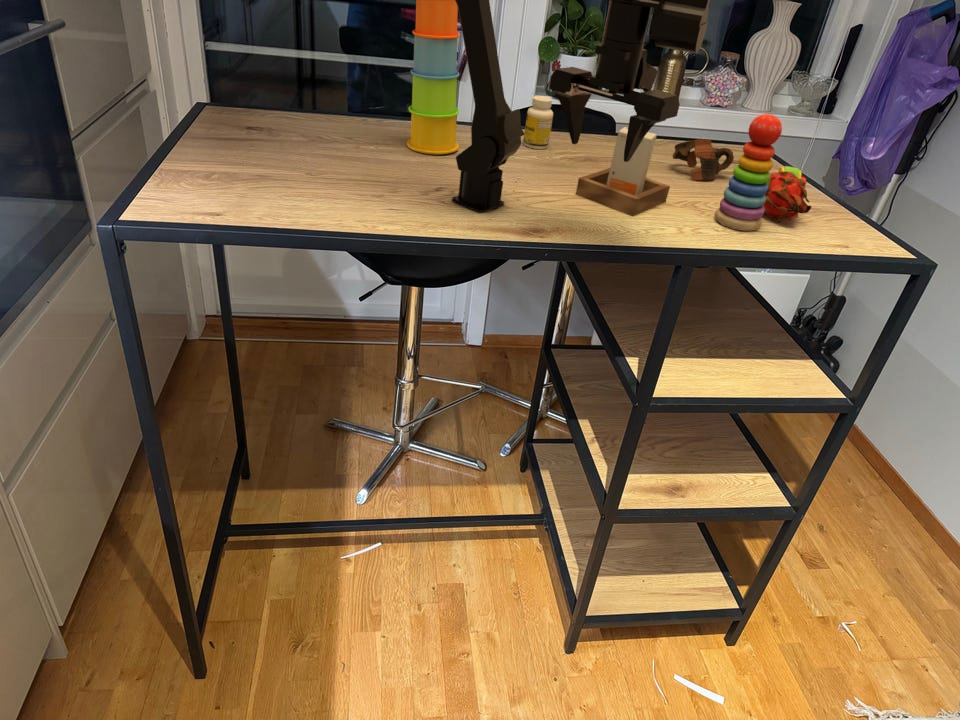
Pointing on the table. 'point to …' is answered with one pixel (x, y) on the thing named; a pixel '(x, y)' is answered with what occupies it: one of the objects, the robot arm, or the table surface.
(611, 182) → the skincare box
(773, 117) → the stacking toy
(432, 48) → the stacking cups
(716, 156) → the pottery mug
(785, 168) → the toy measuring tape
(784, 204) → the dragon fruit
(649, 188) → the square wooden frame
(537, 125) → the supplement bottle
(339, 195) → the table surface
